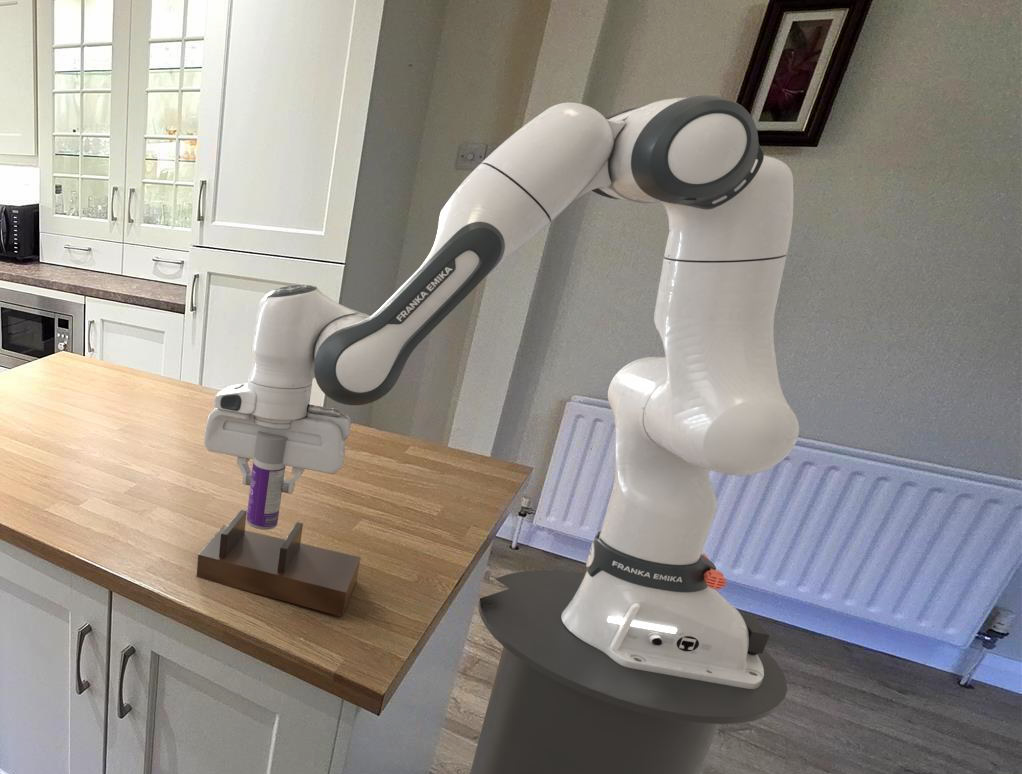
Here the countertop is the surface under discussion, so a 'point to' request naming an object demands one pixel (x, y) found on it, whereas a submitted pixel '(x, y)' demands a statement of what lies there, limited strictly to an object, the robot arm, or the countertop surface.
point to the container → (266, 481)
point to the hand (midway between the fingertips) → (267, 487)
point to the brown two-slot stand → (279, 567)
